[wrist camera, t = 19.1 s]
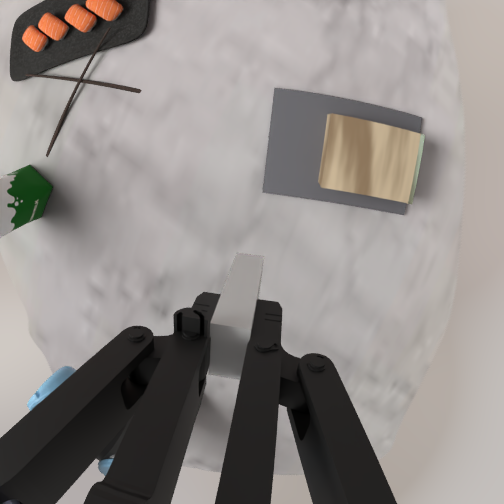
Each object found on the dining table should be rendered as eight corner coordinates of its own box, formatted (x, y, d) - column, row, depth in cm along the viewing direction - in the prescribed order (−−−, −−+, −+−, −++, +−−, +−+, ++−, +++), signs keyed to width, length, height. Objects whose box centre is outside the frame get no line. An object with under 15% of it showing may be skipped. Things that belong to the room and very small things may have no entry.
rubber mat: (262, 191, 42) (262, 192, 42) (274, 88, 37) (274, 87, 36) (402, 213, 41) (403, 215, 41) (420, 117, 36) (421, 117, 35)
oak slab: (321, 187, 37) (411, 204, 36) (331, 113, 33) (424, 135, 32) (318, 181, 40) (401, 196, 40) (327, 114, 37) (413, 133, 36)
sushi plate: (155, -37, 30) (145, -47, 26) (156, 141, 42) (145, 144, 38) (19, 19, 33) (6, 16, 30) (20, 165, 45) (7, 169, 41)
